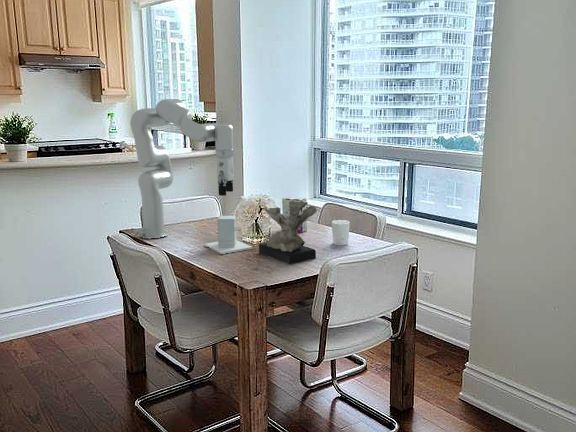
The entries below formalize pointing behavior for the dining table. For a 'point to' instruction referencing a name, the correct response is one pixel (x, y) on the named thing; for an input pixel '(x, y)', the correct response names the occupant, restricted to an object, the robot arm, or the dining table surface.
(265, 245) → the coral
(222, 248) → the tile
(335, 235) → the white cup
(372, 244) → the dining table surface
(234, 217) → the supplement box
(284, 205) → the candy bar box
